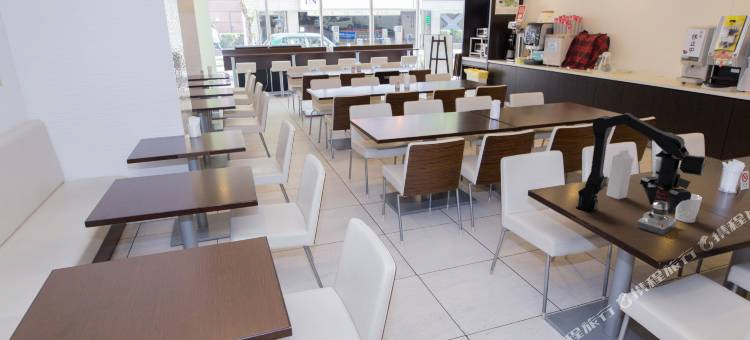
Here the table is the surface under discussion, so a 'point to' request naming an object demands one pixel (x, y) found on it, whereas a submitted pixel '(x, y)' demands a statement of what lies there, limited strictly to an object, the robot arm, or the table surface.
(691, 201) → the white cup
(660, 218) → the lens
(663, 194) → the canned food
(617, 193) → the milk
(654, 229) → the camera body
